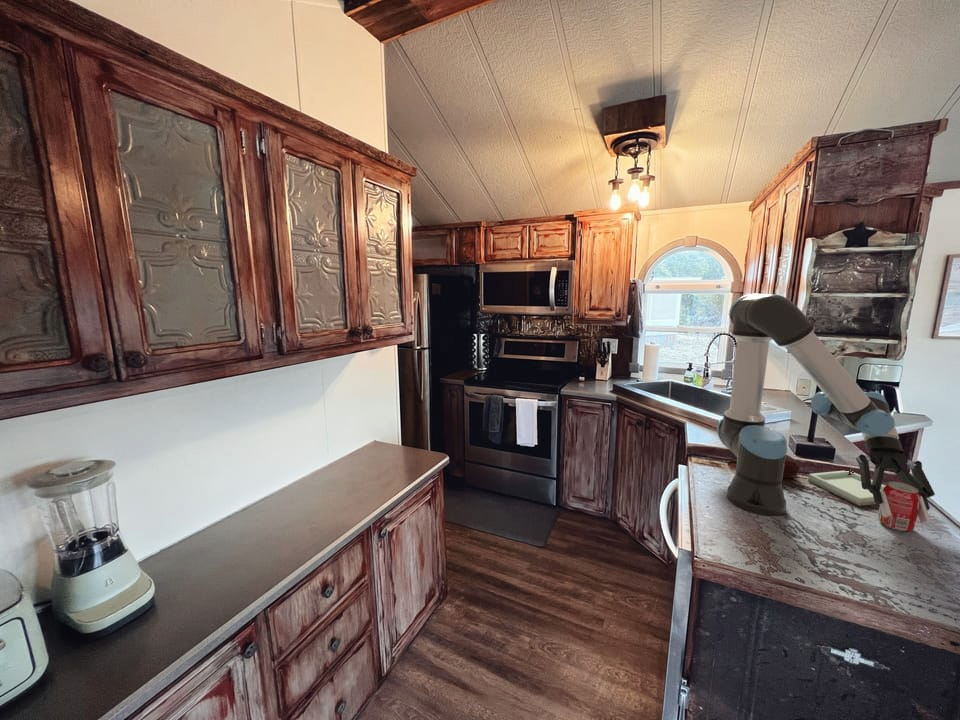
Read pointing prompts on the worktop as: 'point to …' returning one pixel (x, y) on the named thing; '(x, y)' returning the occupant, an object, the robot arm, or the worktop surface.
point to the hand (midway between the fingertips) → (906, 518)
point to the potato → (790, 467)
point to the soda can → (901, 506)
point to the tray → (844, 486)
